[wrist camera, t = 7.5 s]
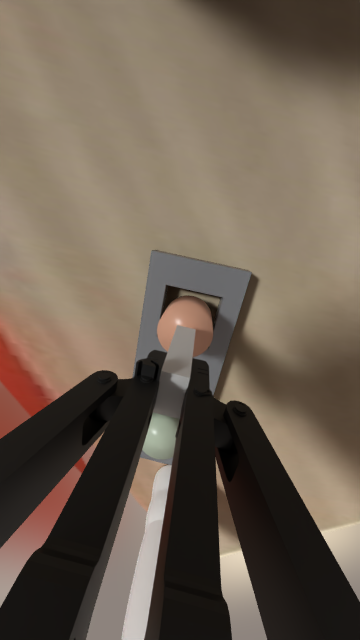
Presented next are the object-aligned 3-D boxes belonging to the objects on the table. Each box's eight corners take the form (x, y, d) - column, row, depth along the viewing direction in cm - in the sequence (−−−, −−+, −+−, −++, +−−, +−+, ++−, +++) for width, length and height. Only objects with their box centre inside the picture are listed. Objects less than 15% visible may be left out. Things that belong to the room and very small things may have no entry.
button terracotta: (169, 290, 22) (162, 300, 18) (217, 301, 22) (219, 313, 18) (161, 334, 24) (153, 351, 20) (205, 344, 24) (205, 363, 20)
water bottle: (206, 470, 33) (210, 1034, 9) (191, 498, 35) (164, 1001, 12) (162, 455, 33) (56, 982, 9) (150, 484, 35) (42, 961, 12)
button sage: (150, 401, 29) (142, 424, 26) (186, 409, 29) (183, 434, 26) (145, 428, 31) (136, 453, 27) (178, 437, 31) (175, 463, 27)
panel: (155, 250, 23) (151, 250, 21) (247, 270, 23) (251, 272, 21) (126, 440, 33) (121, 452, 31) (190, 456, 32) (189, 469, 30)
